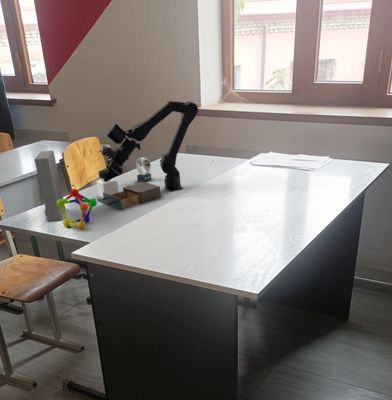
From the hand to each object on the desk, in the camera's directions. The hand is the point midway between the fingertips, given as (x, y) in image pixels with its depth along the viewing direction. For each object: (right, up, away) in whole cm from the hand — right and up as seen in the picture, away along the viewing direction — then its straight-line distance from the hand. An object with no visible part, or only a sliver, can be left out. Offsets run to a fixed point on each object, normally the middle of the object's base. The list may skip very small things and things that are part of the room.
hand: (104, 178), depth 230 cm
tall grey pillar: (-17, -20, -15) cm, 31 cm away
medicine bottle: (+2, -7, +5) cm, 8 cm away
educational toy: (-4, -27, -26) cm, 38 cm away
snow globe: (+16, +6, +23) cm, 29 cm away
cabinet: (+18, -9, -1) cm, 20 cm away
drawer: (+8, -14, -8) cm, 18 cm away
